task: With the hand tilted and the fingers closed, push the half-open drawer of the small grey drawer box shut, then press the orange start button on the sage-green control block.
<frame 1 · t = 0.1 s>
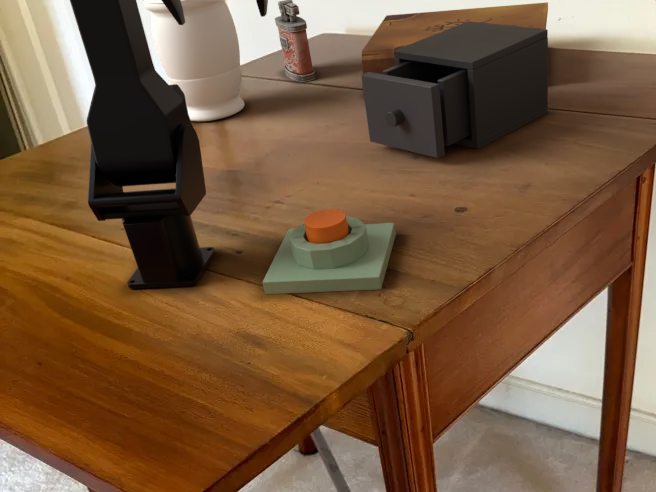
hand: (222, 19, 88), 15 cm above the table, tool pointing down, fingers open, 9 cm apart
start button: (326, 227, 70), point 3 cm above the table, slide at 0.1 cm
lighter: (300, 76, 121), on the table
grey drawer box: (475, 122, 96), on the table
jar: (214, 113, 112), on the table
dark grey drawer: (431, 101, 90), point 5 cm above the table, slide at 4.5 cm
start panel: (333, 263, 72), on the table
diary: (461, 72, 113), on the table
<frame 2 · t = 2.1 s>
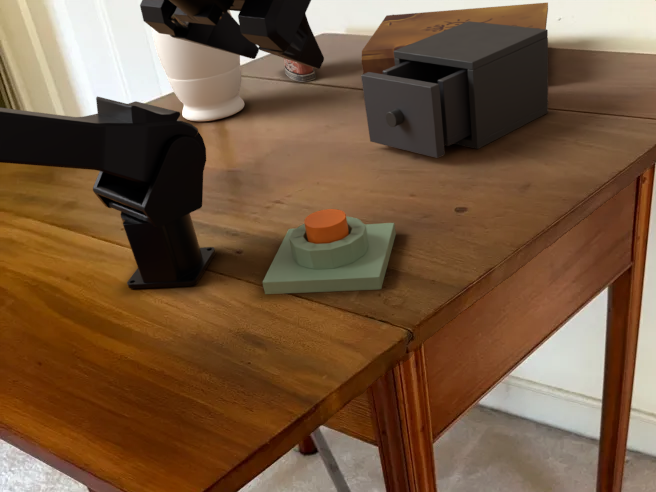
hand: (287, 58, 76), 14 cm above the table, tool tilted 40°, fingers open, 9 cm apart
nothing on the table moved.
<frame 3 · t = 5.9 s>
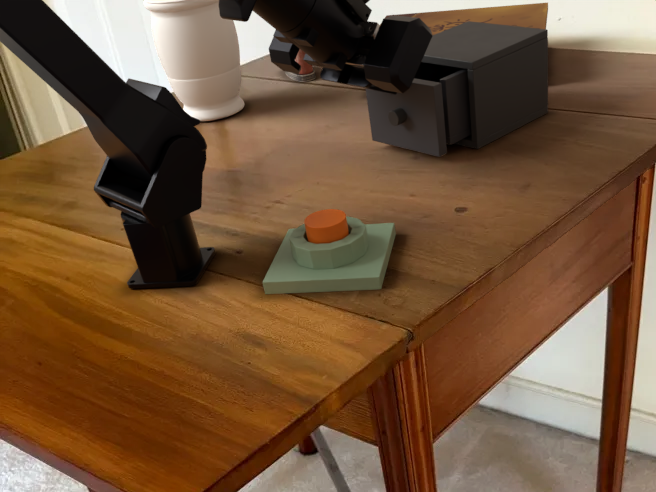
hand: (395, 89, 86), 7 cm above the table, tool tilted 45°, fingers closed, pressing on dark grey drawer
dark grey drawer: (433, 100, 90), point 5 cm above the table, slide at 4.1 cm, touching gripper
everything else where it was.
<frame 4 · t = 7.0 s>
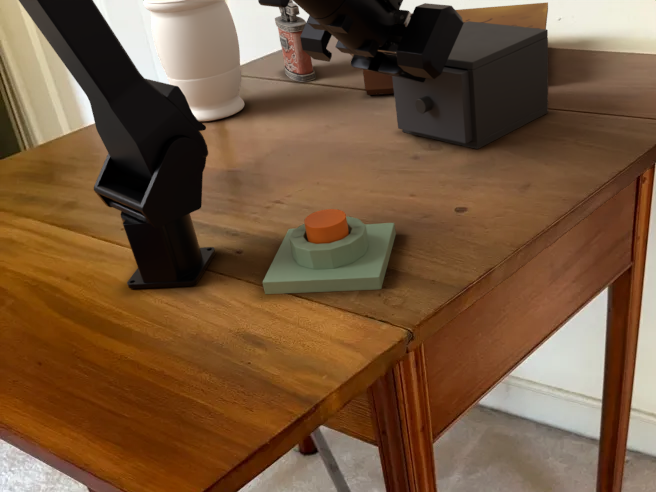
hand: (423, 77, 88), 7 cm above the table, tool tilted 45°, fingers closed, pressing on dark grey drawer
dark grey drawer: (458, 88, 92), point 5 cm above the table, slide at 0.0 cm, touching grey drawer box, gripper
everything else where it was.
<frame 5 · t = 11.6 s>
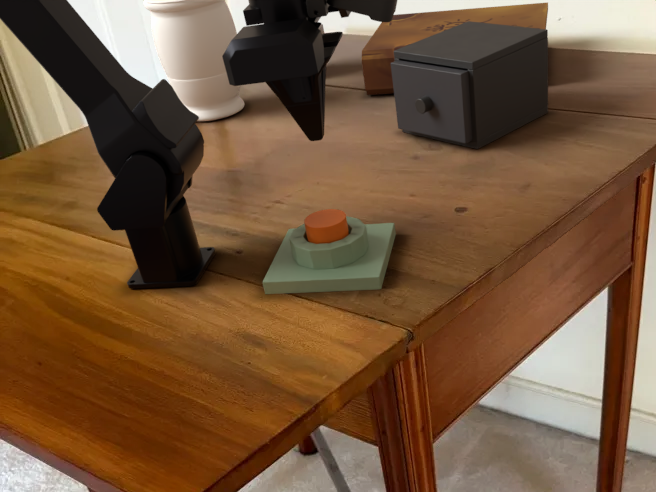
hand: (317, 139, 66), 11 cm above the table, tool pointing down, fingers closed
dark grey drawer: (458, 88, 92), point 5 cm above the table, slide at 0.0 cm, touching grey drawer box
everything else where it was.
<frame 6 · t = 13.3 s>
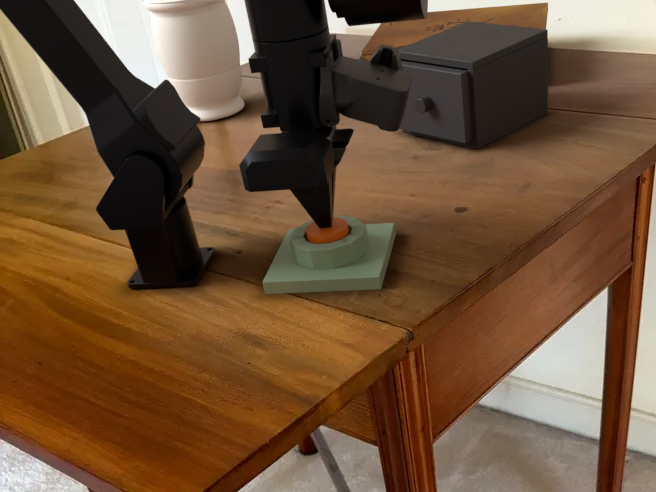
hand: (325, 226, 70), 4 cm above the table, tool pointing down, fingers closed, pressing on start button
start button: (328, 235, 71), point 3 cm above the table, slide at -0.7 cm, touching gripper
everything else where it was.
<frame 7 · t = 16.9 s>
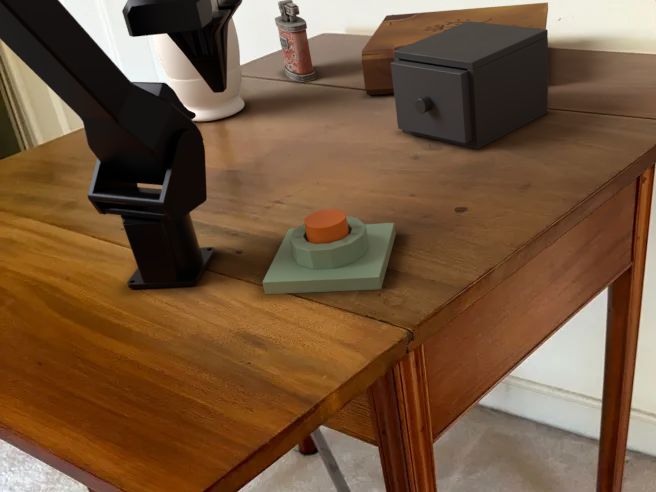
hand: (220, 91, 76), 12 cm above the table, tool pointing down, fingers closed
start button: (326, 227, 70), point 3 cm above the table, slide at 0.1 cm
everything else where it was.
at the end: dark grey drawer slide at 0.0 cm; start button pushed in 1.1 cm at the most during the clip, back to where it started at the end; start button slide at 0.1 cm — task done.
